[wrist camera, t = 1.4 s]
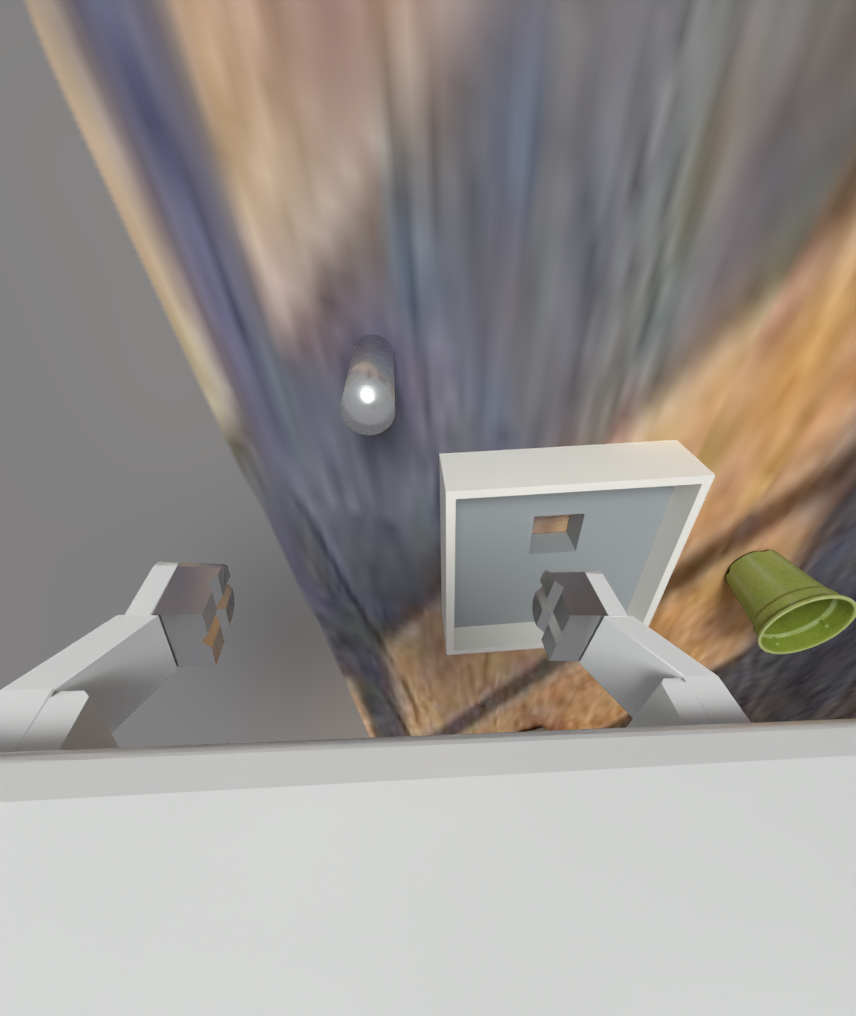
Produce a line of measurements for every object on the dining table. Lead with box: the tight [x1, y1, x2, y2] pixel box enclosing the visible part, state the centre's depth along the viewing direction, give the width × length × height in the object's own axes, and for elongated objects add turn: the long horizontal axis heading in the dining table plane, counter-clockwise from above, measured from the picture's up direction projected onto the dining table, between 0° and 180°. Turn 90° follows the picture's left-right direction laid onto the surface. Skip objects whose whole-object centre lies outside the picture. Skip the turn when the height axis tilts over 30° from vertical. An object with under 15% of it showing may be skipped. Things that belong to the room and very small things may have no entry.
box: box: [439, 440, 715, 655], centre depth 44 cm, size 22×22×6 cm
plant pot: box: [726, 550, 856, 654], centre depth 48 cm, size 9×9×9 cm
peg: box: [341, 335, 395, 435], centre depth 30 cm, size 3×3×10 cm
